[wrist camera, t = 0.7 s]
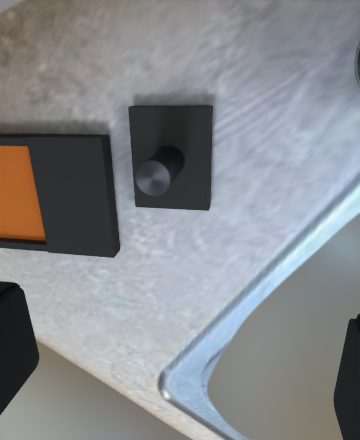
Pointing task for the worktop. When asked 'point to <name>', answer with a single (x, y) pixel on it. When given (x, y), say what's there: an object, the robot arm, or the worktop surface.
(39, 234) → the base pad
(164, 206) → the black pad
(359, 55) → the canned tomato
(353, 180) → the worktop surface
